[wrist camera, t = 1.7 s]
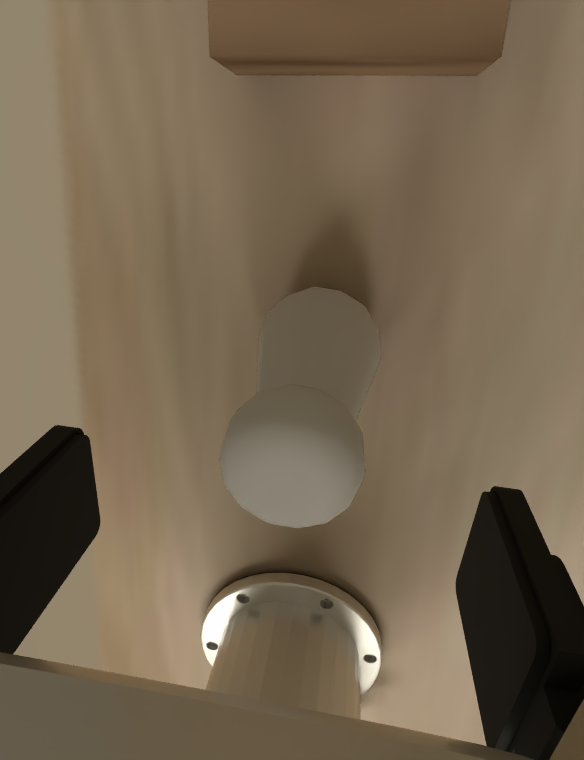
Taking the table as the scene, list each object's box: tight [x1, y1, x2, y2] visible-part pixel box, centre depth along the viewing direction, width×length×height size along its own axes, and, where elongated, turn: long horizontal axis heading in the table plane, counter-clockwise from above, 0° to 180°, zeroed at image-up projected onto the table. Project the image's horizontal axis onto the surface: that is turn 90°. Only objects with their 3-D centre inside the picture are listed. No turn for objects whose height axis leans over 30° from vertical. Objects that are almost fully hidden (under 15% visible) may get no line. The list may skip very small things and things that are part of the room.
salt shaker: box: [220, 286, 381, 528], centre depth 19 cm, size 6×6×13 cm
